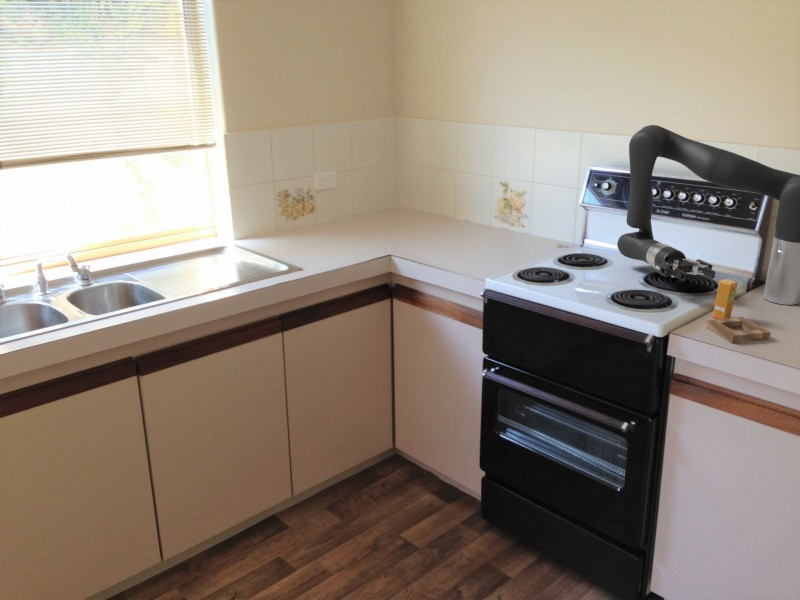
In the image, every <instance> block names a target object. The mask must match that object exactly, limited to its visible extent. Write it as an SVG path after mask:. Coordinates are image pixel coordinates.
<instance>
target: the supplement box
mask: <svg viewBox="0 0 800 600" xmlns="http://www.w3.org/2000/svg"><path fill="white" fill-rule="evenodd" d="M738 284H739V283H738V282H737V281H735V280H732V279H728V278H726V279H722V280H720V281H719V283H718V288H717V291H716V292H717V293H716V298H715V303H714V308H713V313H712V318H714V319H715V320H718V319H729V318H732V311H733V307H734V302H735V299H736V298H735V297H736V293H737V288H738Z"/></svg>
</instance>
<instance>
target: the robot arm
mask: <svg viewBox="0 0 800 600" xmlns="http://www.w3.org/2000/svg"><path fill="white" fill-rule="evenodd" d="M628 151H629V152H628V158H629V172H630V173H629V177H630V179H629V194H628V195H629V196H628V204H627V213H626V224H627V226H628V227H630V228H632V229H638V231H634V232H627V233H624V234H621V236H619V237H618V239H617V249H618V251H619V252H620V254H621V255H622V256H624V257H626V258H628V259H632V260H637V261H642V262H644V263H646V264H648V265H649V266H651V267H652V268H653V269H655V272H656V273H659V274H660V275H661V276H663V277H665V278H668V277H669V276H670V277H671V278H677V279H678V280H680V281H682V282H685V281H687V275H688V274H689V275H693V276H697V275H702V276H705V277H706V278H709V279H711V280H714V279H715V277H716V271H715V270H713V264H711V263H709V262H706V261H704V260H702V259H699V258H698V259H696V261H693V260H690V259H687V257H686V255H685V253H683V251H681V250H680V249H677V248H674V247H672V246H671V245H668V244H667V243H666V244H665V243H662V242H660V241H658V240H656V239H654V234H653V227H652V215H653V207H654V194H653V193H654V192H653V185H652V183H653V181H652V178H653V172H654V167H655V164H656V161H657V159H658V158H664V159H667V160H671V161H674V162H676V163H679V164H681V165H683V166H684V167H686V168H687V169H688V170H689V171H691V172H692V173H693V174H695V175H696V176H697V177H699V178H700V179H702V180H704V181H706V182H710V183H712V184H714V185H718V186H720V187H723V188H726V189H731V190H735V191H743V192H748V193H749V192H750V193H756V194H760V195H763V196H766V197H769V198H771V199H774V200H777V201H778V208H777V212H776V219H775V225H774V226H775V227H774V228H775V231H774V235H773V241H772V247H771V253H770V257H769V258H770V259H769V262H768V269H767V274H766V280H765V285H764V290H763V295H762V297H763V298H764V299H765V300H766V301H768V302H771V303H775V304H778V305H779V304H780V305H789V306H792V305H798V304H800V174H796V173H793V172H788V171H785V170H780V169H776V168H773V167H770V166H768V165H766V164H763V163H760V162H758V161H757V160H753V159H750V158H749V157H746V156H743V155H740V154H739V153H735V152H732V151H729V150H726V149H722V148H719V147H715V146H712V145H709V144H706V143H703V142H700V141H696V140H693V139H690V138H687V137H685V136H682V135H680V134H677V133H676V132H674V131H672V130H669V129H667V128H665V127H662V126H660V125H657V124H649V125H645V126H644V127H642V128H641V129H640V130H638V131H636V132H635V133H634V134H633V135H632V137H630V141H629V144H628ZM693 268H694V269H693ZM693 270H694V271H693Z"/></svg>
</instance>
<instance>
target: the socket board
mask: <svg viewBox="0 0 800 600" xmlns="http://www.w3.org/2000/svg"><path fill="white" fill-rule="evenodd" d="M705 329H707V330H709V331H710V330H711V332H712V333H713V334H715V333H716V334H715V335H717V336H719V337H720V336H721V337H720V338H723V339H724V340H726V341H727V342H729V343H731V345H732V344H734V345H735V344H743V343H752V342H753V343H754V342H762V341H770V339H771V338H770V337H771V333H772V332H771V331H769V330H767V329H766V328H764V327H761V325H758V324H756V323H755V322H752V321H751V320H748V318H745V317H744V316H743V317H730V318H729V319H709V320H708V319H707V321H706V327H705ZM736 329H737V330H738V329H740V330H741V331H739V330H738V331H735V330H736Z"/></svg>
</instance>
